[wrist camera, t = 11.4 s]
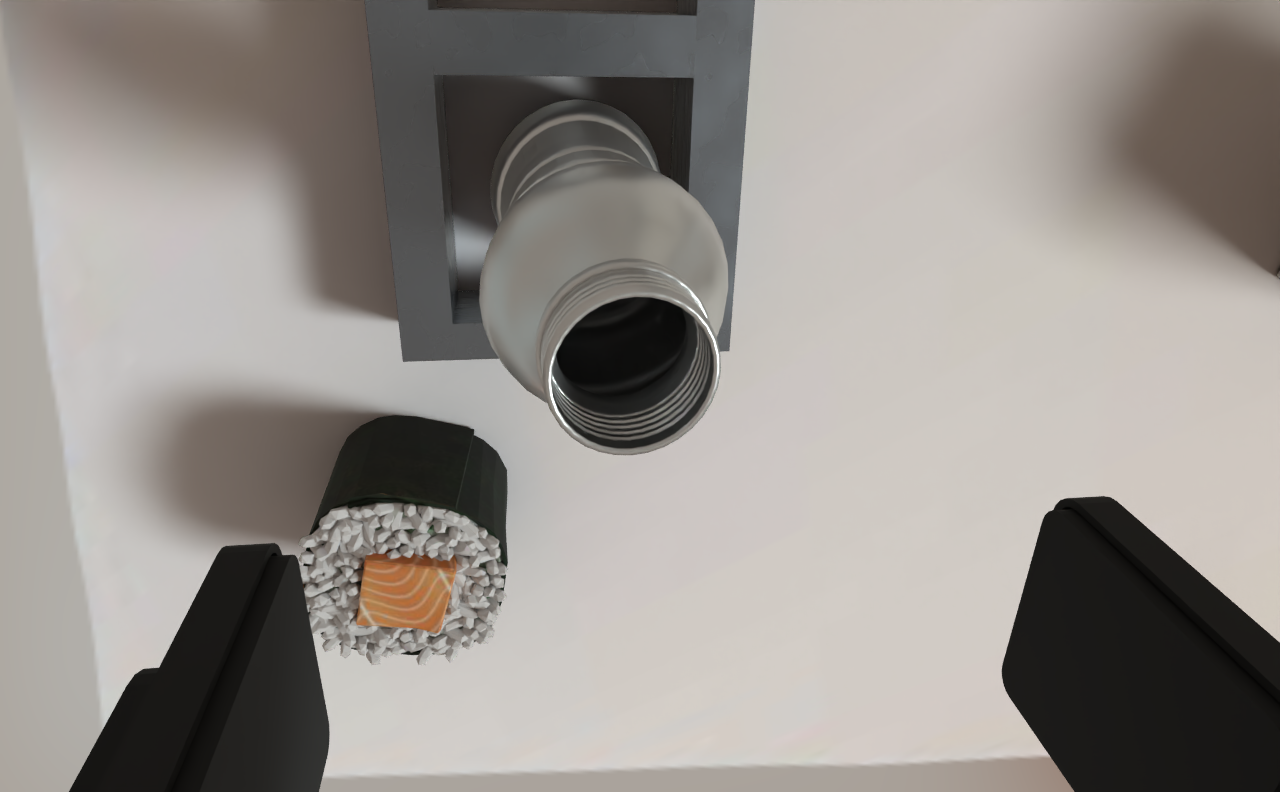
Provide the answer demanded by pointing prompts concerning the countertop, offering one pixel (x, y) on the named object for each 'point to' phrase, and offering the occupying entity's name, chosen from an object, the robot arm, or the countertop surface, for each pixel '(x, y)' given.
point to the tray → (541, 46)
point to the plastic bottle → (602, 280)
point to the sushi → (408, 542)
